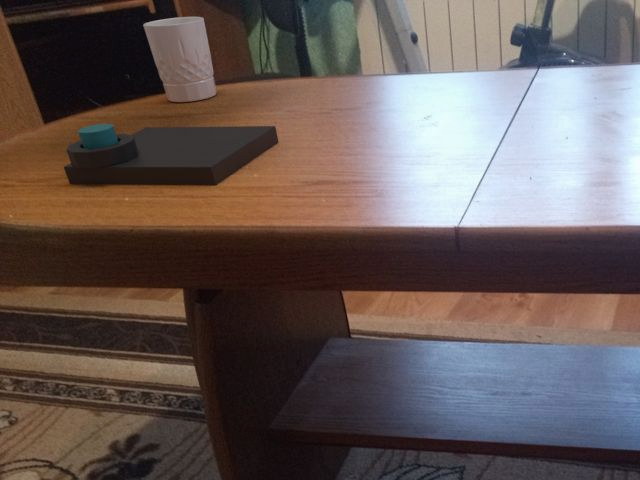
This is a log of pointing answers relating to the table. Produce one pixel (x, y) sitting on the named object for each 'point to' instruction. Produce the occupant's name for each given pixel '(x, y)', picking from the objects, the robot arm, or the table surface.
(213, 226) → the table surface
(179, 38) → the white cup
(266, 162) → the table surface
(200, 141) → the scale
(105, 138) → the button
